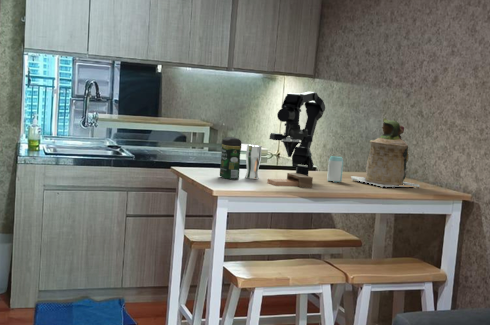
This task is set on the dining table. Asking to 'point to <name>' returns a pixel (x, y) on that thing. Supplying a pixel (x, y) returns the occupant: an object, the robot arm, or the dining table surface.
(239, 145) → the coffee jar
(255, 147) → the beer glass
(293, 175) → the brown rectangular block
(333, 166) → the white teal canister
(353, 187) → the dining table surface
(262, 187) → the dining table surface
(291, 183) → the tile
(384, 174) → the cookie jar
